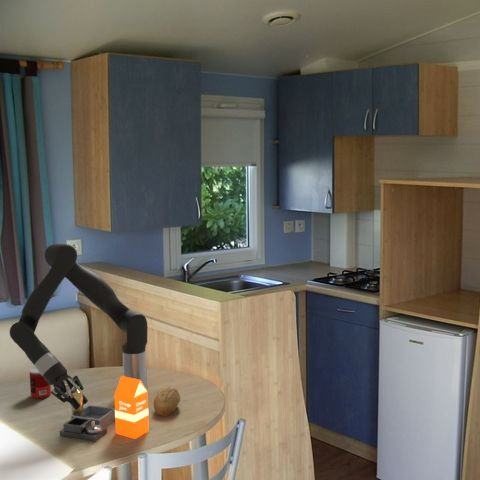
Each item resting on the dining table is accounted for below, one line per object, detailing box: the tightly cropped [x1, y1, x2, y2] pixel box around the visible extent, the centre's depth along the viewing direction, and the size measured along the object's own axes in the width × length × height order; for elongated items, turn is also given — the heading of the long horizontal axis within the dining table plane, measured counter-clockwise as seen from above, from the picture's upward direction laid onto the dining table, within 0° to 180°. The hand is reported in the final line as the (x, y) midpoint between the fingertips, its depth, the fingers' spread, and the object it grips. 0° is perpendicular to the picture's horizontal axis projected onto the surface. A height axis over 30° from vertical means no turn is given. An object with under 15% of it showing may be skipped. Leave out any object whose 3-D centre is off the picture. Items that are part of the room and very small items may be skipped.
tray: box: [70, 404, 115, 427], centre depth 262 cm, size 12×12×4 cm
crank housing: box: [58, 417, 108, 443], centre depth 251 cm, size 8×14×6 cm, turn 69°
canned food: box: [29, 366, 52, 400], centre depth 289 cm, size 8×8×11 cm
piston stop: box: [71, 389, 85, 416], centre depth 251 cm, size 4×4×8 cm
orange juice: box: [113, 375, 150, 440], centre depth 252 cm, size 8×9×20 cm
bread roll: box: [153, 387, 181, 417], centre depth 273 cm, size 10×15×8 cm, turn 175°
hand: (82, 405), depth 250 cm, fingers closed on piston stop, 4 cm apart
